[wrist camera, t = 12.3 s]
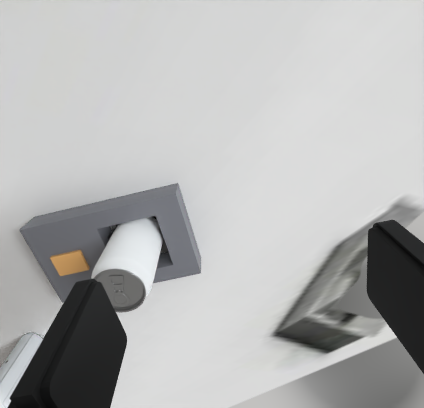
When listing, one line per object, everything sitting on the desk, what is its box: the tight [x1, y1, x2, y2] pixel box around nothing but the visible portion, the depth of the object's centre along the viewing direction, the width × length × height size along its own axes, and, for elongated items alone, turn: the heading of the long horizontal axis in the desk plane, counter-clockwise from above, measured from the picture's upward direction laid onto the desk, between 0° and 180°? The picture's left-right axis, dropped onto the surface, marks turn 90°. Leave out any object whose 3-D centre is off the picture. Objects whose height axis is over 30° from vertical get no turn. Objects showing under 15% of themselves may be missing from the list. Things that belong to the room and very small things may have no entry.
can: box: [91, 217, 163, 312], centre depth 35 cm, size 6×6×12 cm
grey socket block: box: [20, 183, 201, 302], centre depth 39 cm, size 12×20×4 cm, turn 103°
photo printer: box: [0, 333, 43, 408], centre depth 44 cm, size 10×4×12 cm, turn 32°
